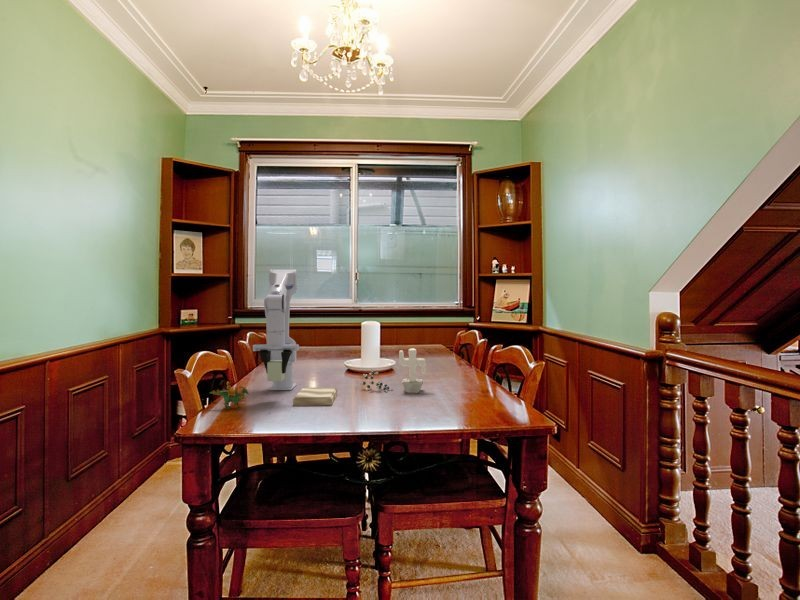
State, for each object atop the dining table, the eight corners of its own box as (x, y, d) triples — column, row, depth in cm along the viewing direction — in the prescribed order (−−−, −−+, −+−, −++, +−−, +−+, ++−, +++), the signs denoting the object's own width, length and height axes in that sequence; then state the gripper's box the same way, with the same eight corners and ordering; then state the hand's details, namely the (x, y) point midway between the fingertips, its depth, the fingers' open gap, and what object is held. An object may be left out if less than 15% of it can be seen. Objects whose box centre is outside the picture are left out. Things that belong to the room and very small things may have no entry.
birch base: (302, 394, 155) (301, 387, 155) (337, 394, 155) (337, 387, 155) (293, 405, 141) (292, 397, 141) (331, 405, 141) (331, 397, 141)
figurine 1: (247, 409, 137) (246, 382, 137) (207, 409, 137) (207, 382, 137) (250, 406, 140) (250, 380, 140) (211, 406, 140) (211, 380, 140)
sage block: (271, 378, 150) (270, 360, 149) (284, 378, 150) (284, 360, 149) (267, 381, 145) (267, 362, 145) (281, 381, 145) (281, 362, 145)
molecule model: (386, 400, 156) (395, 378, 157) (355, 386, 159) (365, 365, 160) (389, 401, 162) (398, 380, 163) (359, 387, 165) (369, 367, 166)
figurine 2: (426, 393, 156) (426, 350, 155) (398, 393, 156) (398, 350, 156) (425, 388, 163) (425, 347, 162) (399, 388, 163) (399, 347, 163)
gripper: (249, 332, 143) (249, 375, 143) (295, 332, 143) (295, 375, 144) (256, 330, 150) (256, 371, 150) (300, 330, 150) (300, 370, 151)
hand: (276, 372), depth 147 cm, fingers closed on sage block, 4 cm apart
